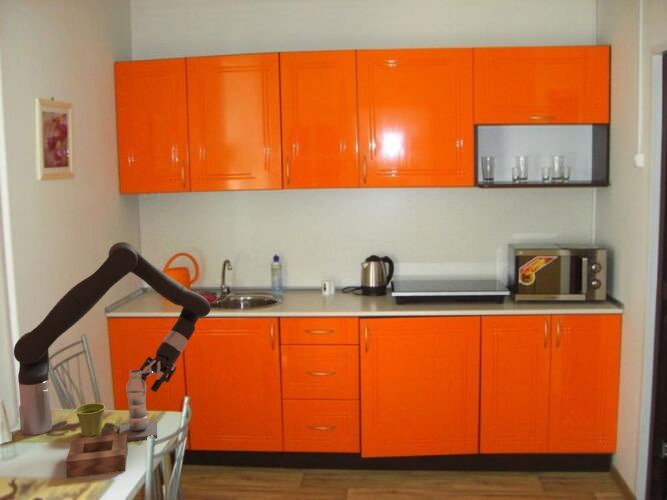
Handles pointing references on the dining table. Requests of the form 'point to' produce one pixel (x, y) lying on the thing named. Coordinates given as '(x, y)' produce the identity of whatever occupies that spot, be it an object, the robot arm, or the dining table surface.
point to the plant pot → (90, 418)
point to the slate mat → (139, 434)
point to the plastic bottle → (137, 402)
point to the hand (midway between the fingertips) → (145, 388)
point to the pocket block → (97, 455)
